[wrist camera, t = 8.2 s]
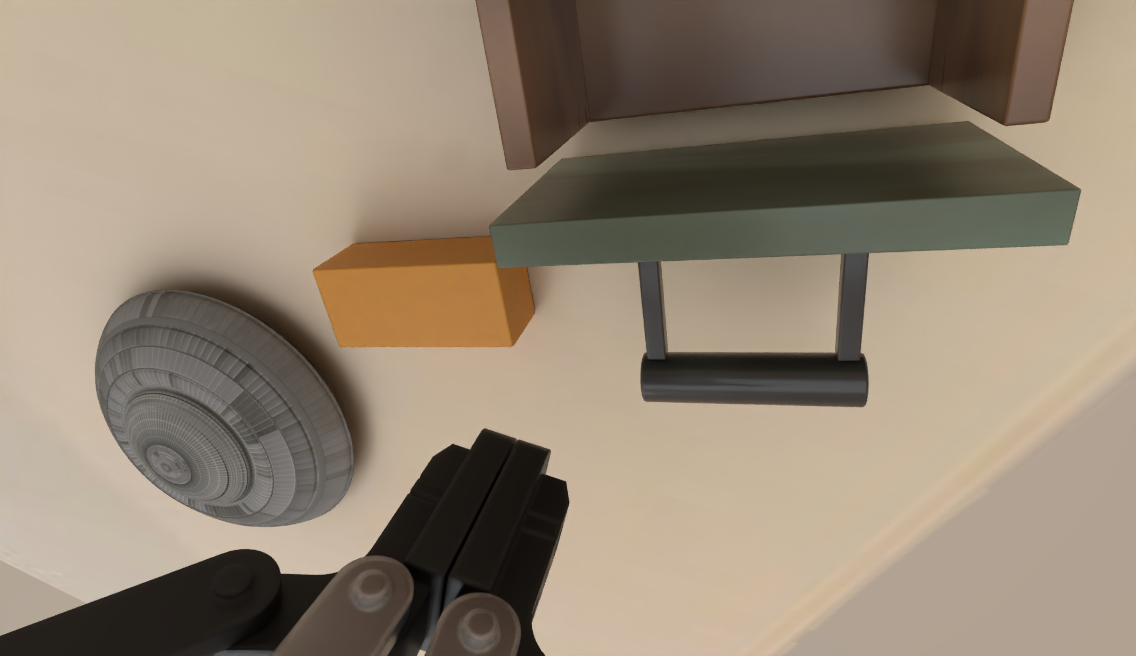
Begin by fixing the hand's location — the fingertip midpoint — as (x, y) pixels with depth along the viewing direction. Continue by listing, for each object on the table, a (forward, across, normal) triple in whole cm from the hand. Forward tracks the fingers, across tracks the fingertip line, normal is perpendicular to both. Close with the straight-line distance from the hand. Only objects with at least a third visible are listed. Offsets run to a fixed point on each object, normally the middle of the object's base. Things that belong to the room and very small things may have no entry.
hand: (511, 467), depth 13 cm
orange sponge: (+13, +7, +4) cm, 15 cm away
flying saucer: (+13, +18, +15) cm, 27 cm away
